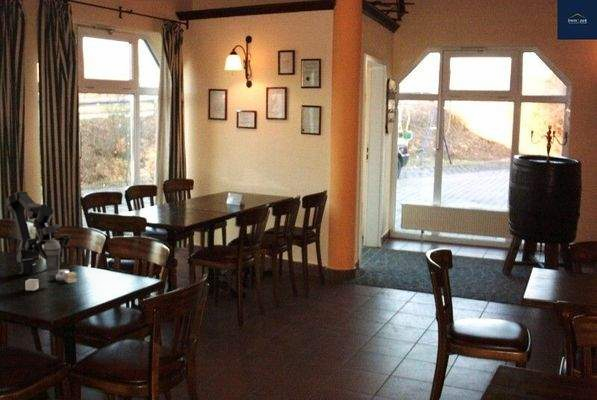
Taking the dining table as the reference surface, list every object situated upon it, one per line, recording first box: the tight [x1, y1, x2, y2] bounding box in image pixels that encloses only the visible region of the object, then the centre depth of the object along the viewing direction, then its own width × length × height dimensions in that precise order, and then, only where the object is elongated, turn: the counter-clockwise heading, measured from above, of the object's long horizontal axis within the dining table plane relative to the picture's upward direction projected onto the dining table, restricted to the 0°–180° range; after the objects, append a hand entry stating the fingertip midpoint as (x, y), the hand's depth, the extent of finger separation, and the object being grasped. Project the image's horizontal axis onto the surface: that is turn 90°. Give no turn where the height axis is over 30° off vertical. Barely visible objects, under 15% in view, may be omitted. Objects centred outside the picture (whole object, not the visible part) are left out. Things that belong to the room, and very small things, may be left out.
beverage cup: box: [42, 233, 61, 276], centre depth 285 cm, size 7×7×20 cm
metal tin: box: [55, 268, 70, 282], centre depth 299 cm, size 6×6×4 cm
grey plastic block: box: [24, 278, 40, 291], centre depth 283 cm, size 4×4×4 cm
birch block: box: [64, 271, 78, 284], centre depth 296 cm, size 4×4×4 cm
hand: (53, 257), depth 285 cm, fingers closed on beverage cup, 7 cm apart
